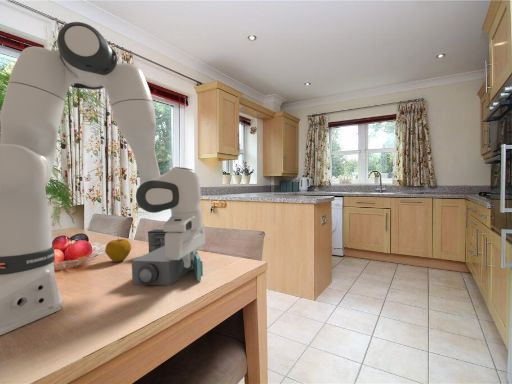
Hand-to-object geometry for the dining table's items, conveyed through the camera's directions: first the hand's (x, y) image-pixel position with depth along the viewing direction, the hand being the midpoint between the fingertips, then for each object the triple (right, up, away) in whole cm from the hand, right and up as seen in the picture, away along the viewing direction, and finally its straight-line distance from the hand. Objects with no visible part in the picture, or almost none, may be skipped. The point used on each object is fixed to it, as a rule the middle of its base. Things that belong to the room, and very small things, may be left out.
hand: (189, 266), depth 81 cm
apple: (-33, -5, +23) cm, 41 cm away
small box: (-18, -4, +31) cm, 37 cm away
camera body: (-9, -4, +6) cm, 12 cm away
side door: (+1, -4, +5) cm, 7 cm away
